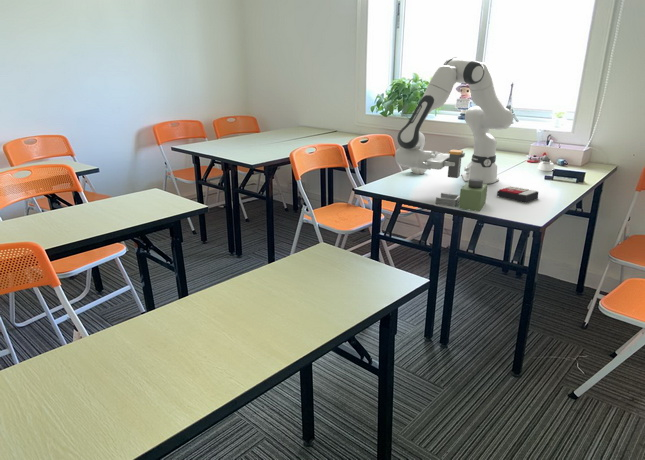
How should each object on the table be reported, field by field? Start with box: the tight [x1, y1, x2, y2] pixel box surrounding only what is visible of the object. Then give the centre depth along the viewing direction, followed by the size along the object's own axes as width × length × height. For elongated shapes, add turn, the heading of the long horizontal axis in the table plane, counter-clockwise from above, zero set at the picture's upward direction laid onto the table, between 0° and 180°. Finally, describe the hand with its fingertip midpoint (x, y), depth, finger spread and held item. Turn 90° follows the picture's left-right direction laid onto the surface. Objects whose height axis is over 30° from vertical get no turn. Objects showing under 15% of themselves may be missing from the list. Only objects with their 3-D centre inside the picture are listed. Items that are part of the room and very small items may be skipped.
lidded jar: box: [409, 167, 428, 175], centre depth 272 cm, size 11×11×9 cm
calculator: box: [496, 185, 539, 204], centre depth 225 cm, size 11×4×15 cm
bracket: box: [435, 192, 460, 207], centre depth 218 cm, size 9×9×3 cm
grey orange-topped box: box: [447, 149, 466, 179], centre depth 219 cm, size 6×5×12 cm
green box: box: [458, 179, 488, 212], centre depth 212 cm, size 9×13×12 cm
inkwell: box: [537, 154, 555, 172], centre depth 272 cm, size 9×18×10 cm, turn 149°
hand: (456, 162), depth 219 cm, fingers closed on grey orange-topped box, 4 cm apart
